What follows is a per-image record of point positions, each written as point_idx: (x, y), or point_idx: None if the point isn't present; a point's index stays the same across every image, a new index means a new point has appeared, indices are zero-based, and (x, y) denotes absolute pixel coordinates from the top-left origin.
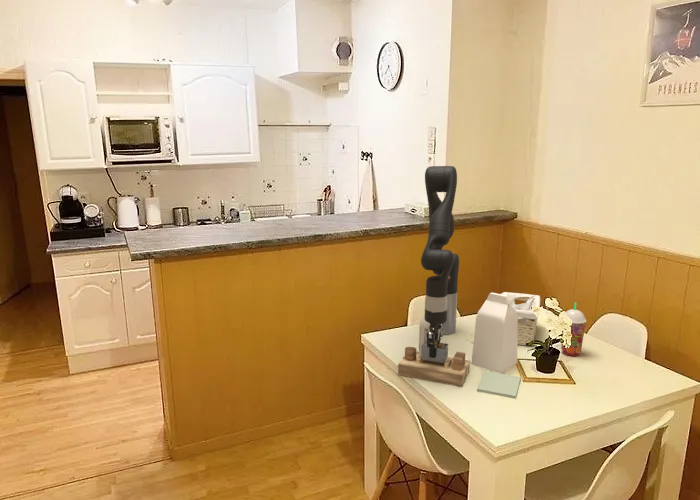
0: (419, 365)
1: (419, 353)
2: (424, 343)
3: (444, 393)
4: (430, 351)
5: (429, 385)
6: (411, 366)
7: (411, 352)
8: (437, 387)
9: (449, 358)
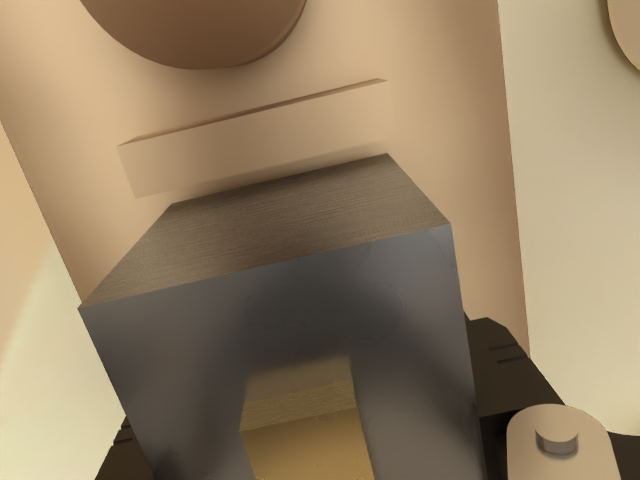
0: (107, 208)
1: (456, 2)
2: (248, 298)
3: (49, 467)
4: (110, 469)
5: (70, 331)
6: (8, 132)
7: (102, 23)
8: (91, 393)
9: None
